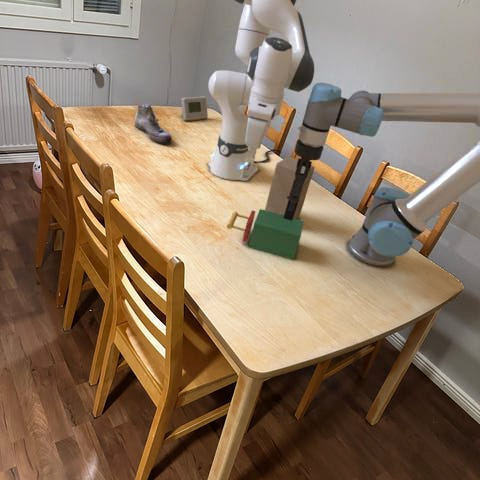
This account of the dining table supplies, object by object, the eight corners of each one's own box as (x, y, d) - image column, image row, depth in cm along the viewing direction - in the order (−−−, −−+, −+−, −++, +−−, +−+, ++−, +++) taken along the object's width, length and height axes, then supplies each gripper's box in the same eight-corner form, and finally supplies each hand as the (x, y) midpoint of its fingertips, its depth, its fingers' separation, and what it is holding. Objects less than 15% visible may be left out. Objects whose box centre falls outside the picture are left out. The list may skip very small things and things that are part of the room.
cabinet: (248, 246, 136) (254, 223, 131) (254, 231, 144) (259, 208, 140) (293, 259, 135) (300, 236, 130) (296, 243, 143) (303, 220, 139)
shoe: (175, 145, 192) (178, 118, 185) (151, 146, 186) (153, 118, 180) (154, 124, 209) (157, 98, 202) (132, 124, 203) (133, 97, 197)
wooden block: (287, 226, 151) (303, 173, 140) (262, 215, 155) (276, 162, 144) (299, 217, 159) (315, 166, 148) (275, 206, 162) (289, 155, 152)
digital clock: (183, 121, 220) (185, 100, 214) (174, 115, 226) (177, 94, 220) (210, 121, 229) (214, 100, 223) (202, 115, 235) (205, 95, 229)
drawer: (224, 236, 137) (228, 217, 133) (230, 223, 144) (234, 205, 140) (283, 253, 135) (289, 234, 132) (286, 238, 143) (292, 221, 139)
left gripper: (260, 93, 127) (250, 138, 135) (246, 110, 110) (236, 161, 117) (281, 98, 127) (270, 143, 134) (270, 116, 110) (258, 167, 117)
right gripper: (301, 126, 132) (283, 188, 143) (292, 153, 111) (272, 224, 122) (326, 132, 131) (305, 195, 142) (321, 161, 110) (298, 232, 121)
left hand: (254, 152), depth 126 cm, fingers open, 7 cm apart
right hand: (290, 208), depth 132 cm, fingers open, 13 cm apart
